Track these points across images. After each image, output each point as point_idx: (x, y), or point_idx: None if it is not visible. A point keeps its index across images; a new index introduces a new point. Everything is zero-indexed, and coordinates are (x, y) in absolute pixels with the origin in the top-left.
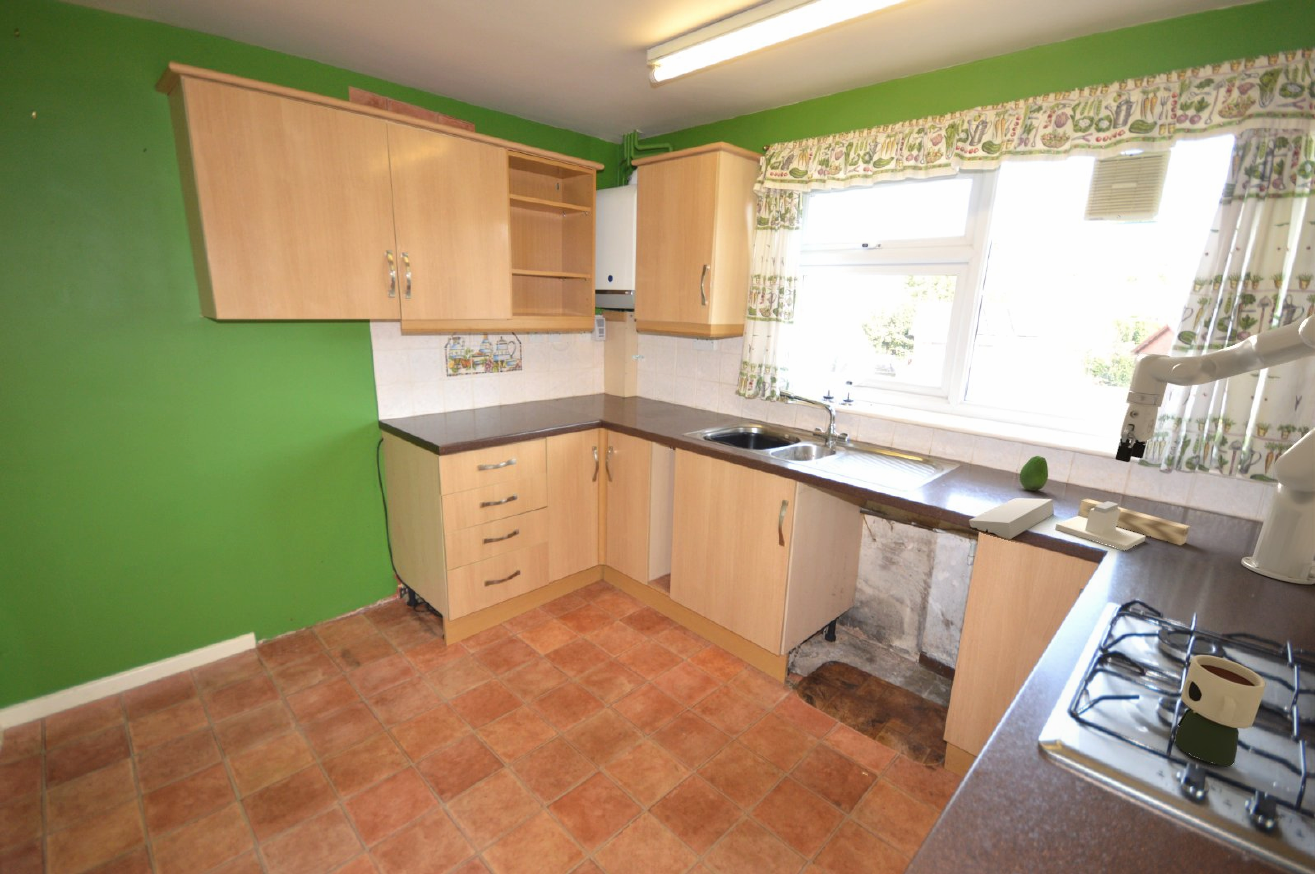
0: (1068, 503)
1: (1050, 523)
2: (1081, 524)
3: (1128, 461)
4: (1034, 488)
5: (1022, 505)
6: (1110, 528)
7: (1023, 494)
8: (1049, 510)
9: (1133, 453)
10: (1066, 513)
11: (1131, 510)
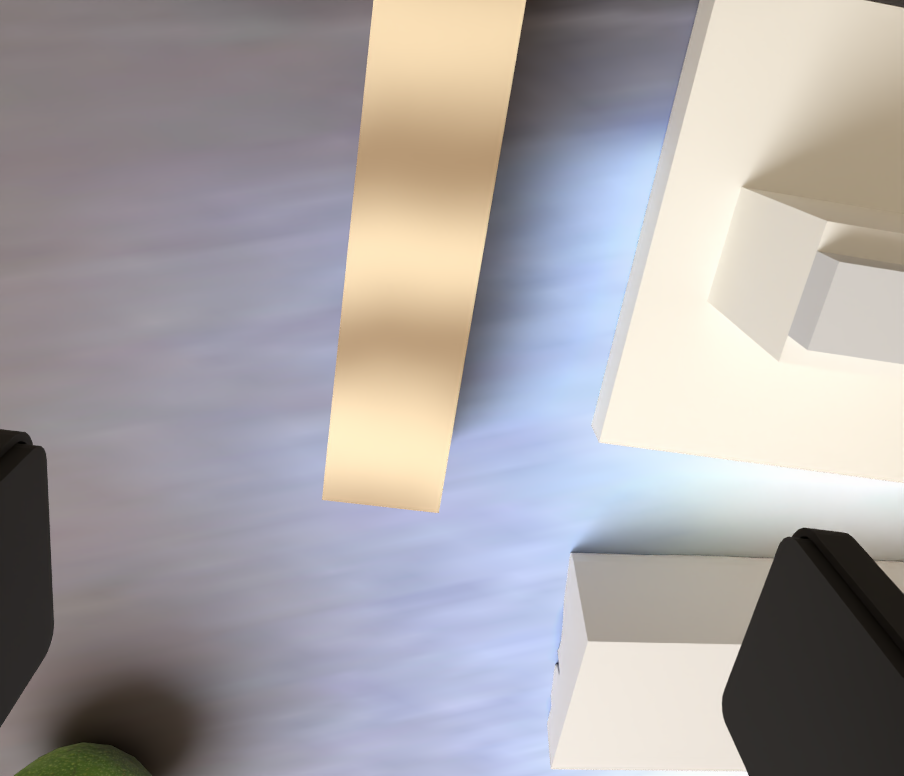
0: (180, 552)
1: (813, 513)
2: (816, 380)
3: (840, 542)
4: (139, 766)
5: None
6: (874, 212)
7: (270, 761)
8: (661, 585)
9: (22, 628)
10: (469, 504)
11: (356, 167)
